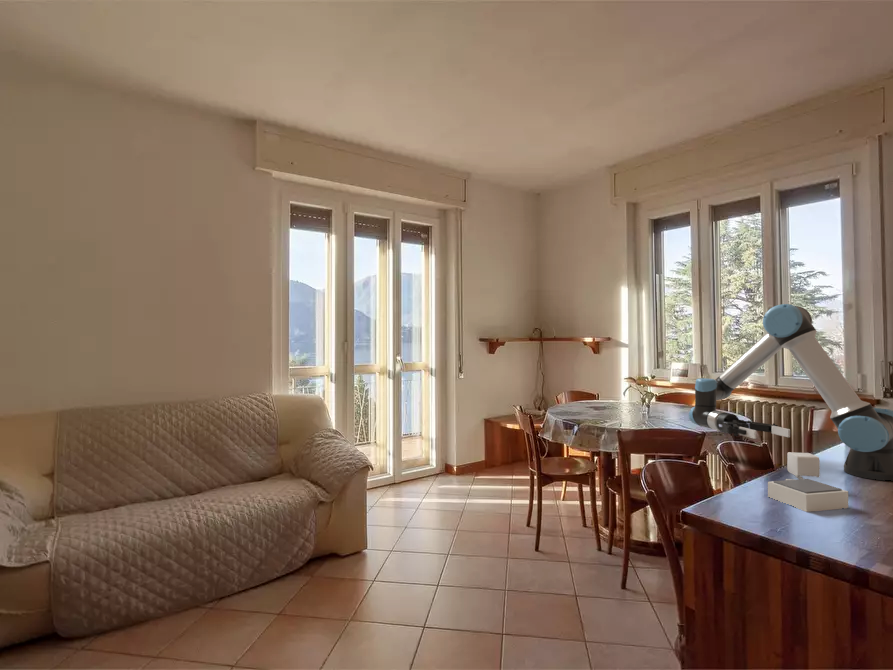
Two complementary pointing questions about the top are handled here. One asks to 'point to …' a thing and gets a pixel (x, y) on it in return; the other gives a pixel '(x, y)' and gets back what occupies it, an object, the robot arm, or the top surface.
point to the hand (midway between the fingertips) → (772, 434)
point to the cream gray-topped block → (808, 494)
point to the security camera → (803, 464)
